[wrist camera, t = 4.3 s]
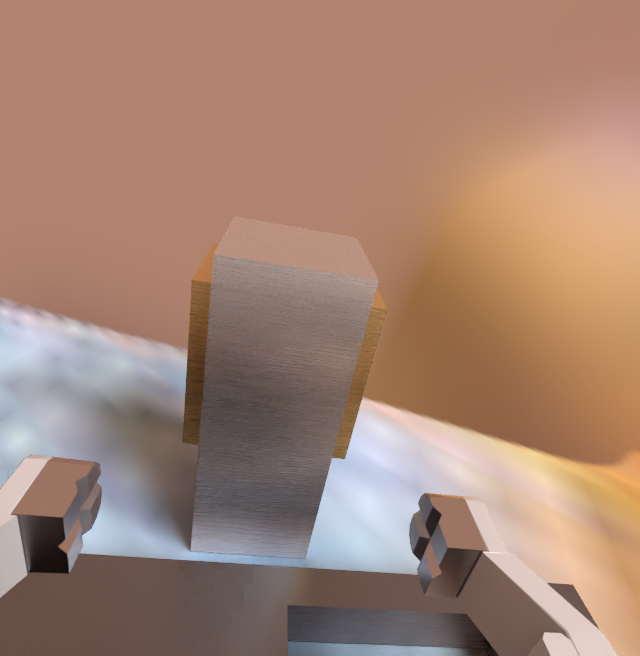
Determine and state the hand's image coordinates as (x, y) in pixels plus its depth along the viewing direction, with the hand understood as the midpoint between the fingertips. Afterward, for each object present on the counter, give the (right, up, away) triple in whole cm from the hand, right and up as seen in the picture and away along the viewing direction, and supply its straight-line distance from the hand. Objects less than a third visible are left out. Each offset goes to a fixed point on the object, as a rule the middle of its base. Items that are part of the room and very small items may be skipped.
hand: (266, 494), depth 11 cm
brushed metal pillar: (-2, -4, +8) cm, 9 cm away
